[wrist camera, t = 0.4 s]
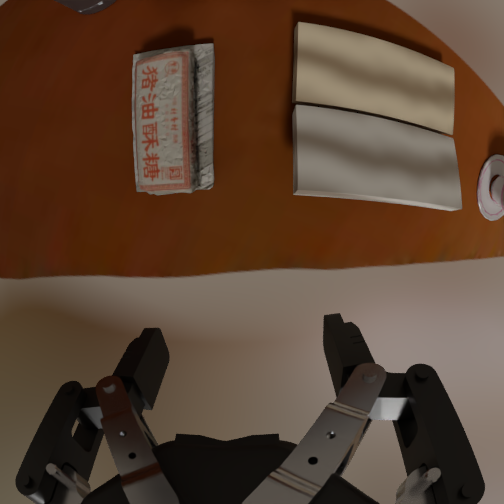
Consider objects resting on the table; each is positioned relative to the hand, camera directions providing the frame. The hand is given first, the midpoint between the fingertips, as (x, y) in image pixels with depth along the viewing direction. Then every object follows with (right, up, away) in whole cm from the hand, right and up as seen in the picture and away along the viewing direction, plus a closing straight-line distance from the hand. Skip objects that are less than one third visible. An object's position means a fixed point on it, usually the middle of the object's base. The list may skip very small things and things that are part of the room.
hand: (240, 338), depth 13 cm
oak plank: (+16, +26, +14) cm, 33 cm away
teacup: (+43, +15, +20) cm, 50 cm away
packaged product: (-9, +20, +17) cm, 28 cm away
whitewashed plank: (+16, +15, +16) cm, 27 cm away
